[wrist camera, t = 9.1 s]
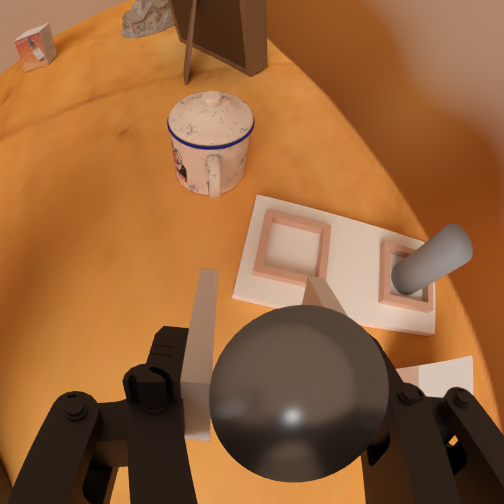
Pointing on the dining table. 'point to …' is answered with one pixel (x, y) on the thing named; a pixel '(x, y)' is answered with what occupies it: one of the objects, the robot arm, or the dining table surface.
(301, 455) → the peg
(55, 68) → the dining table surface
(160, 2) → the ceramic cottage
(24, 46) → the small box
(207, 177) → the teacup with lid
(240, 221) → the dining table surface
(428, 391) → the block
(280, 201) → the pegboard
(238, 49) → the photo frame
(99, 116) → the dining table surface
